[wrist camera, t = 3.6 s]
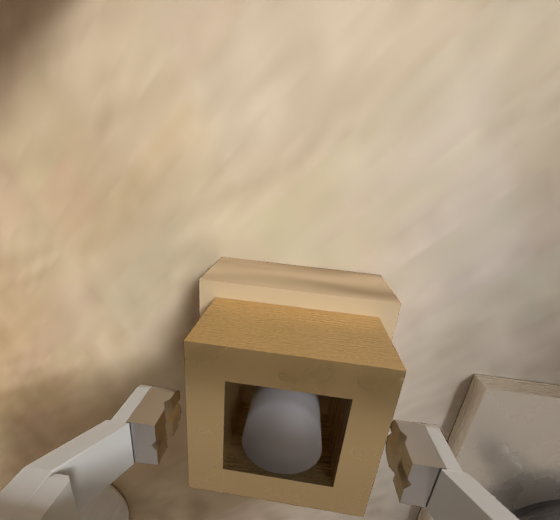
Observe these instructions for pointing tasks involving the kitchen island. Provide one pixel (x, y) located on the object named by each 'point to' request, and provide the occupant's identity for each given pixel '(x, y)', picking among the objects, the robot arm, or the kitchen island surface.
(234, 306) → the tan square hollow frame
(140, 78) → the kitchen island surface
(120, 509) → the ramekin
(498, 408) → the stone base with peg
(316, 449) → the stand
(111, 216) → the kitchen island surface
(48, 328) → the kitchen island surface
